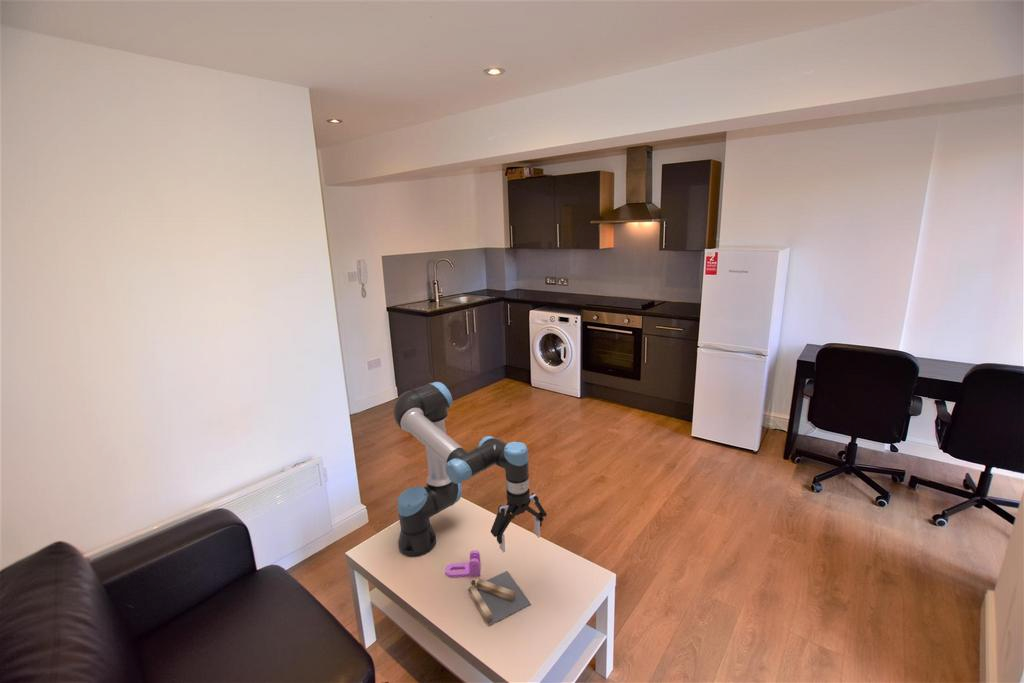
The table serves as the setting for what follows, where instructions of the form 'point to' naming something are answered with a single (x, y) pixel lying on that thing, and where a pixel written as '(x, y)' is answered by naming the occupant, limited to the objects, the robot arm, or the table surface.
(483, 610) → the tongs base
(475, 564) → the bracket
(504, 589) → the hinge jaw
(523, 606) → the mat
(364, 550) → the table surface
